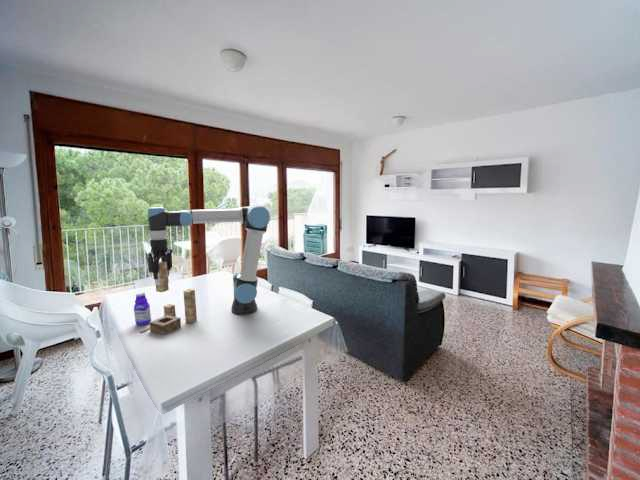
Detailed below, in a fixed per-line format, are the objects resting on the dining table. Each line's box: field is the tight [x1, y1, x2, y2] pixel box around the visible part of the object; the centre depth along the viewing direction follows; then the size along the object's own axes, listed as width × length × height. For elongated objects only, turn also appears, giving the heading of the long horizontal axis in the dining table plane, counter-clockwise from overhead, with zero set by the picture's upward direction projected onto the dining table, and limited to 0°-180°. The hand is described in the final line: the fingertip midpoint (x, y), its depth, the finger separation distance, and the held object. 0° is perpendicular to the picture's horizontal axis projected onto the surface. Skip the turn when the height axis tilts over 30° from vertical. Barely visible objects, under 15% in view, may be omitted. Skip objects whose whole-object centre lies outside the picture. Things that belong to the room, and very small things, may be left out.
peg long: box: [183, 288, 198, 324], centre depth 157 cm, size 4×4×18 cm
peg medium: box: [155, 260, 170, 293], centre depth 145 cm, size 4×4×15 cm
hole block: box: [149, 315, 182, 336], centre depth 149 cm, size 10×10×5 cm
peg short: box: [163, 303, 177, 317], centre depth 164 cm, size 4×4×7 cm
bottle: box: [133, 291, 152, 326], centre depth 154 cm, size 7×6×17 cm
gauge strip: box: [139, 326, 150, 334], centre depth 152 cm, size 15×2×1 cm, turn 158°
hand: (162, 283), depth 146 cm, fingers closed on peg medium, 4 cm apart
